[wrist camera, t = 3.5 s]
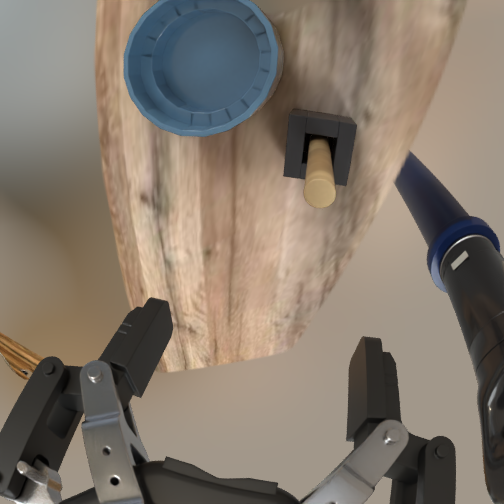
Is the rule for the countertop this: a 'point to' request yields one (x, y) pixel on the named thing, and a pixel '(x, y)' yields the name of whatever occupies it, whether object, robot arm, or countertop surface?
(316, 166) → the stick
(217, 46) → the bowl
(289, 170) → the holder
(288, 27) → the countertop surface
